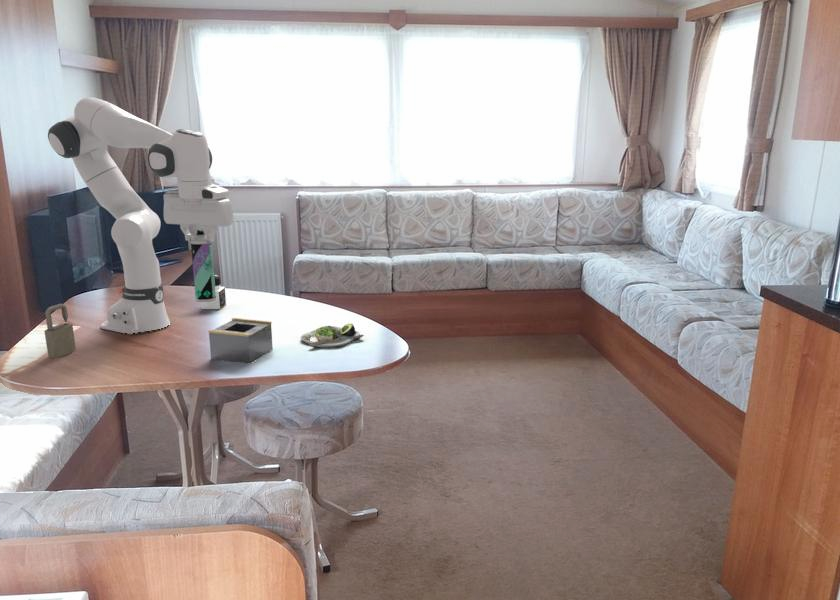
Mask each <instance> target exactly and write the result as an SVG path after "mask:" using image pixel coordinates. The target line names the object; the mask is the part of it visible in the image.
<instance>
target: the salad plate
mask: <svg viewBox="0 0 840 600" xmlns="http://www.w3.org/2000/svg"><path fill="white" fill-rule="evenodd" d="M315 335H316V336H315ZM313 336H314V337H316V339H317V341H312V340H311V341H310V338H311V337H312V338H314V337H313ZM364 336H365V335H364V334H360V331H356V327H355V326H354V324H353V323H346V324H345V325H343V326H342V327H340V326H333V325H326V326H325V325H324V326H320V327H318V328H316V329H314V330H312V331H309V332H306V333H303V334H302V335H301V336H300V340H301V341H302V342H303V343H305V344H306V345H308V346H310V347H316V346H317V348H338V347H337V346H339V347H343V346H345V345H348V344H350V343H349V342H351V343H353V342H355V341H357V340H359V339H360V338H362V337H364ZM312 338H311V339H312ZM354 340H355V341H354ZM352 341H353V342H352ZM347 343H348V344H347ZM342 345H343V346H342Z"/></svg>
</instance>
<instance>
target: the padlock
mask: <svg viewBox="0 0 840 600" xmlns="http://www.w3.org/2000/svg"><path fill="white" fill-rule="evenodd" d="M56 310H61V313H62V319H63V320H64V322H65V323H64V322H63V323H60V324H56V325H53V319H52V312H54V311H56ZM44 315H45V321H46V329H45V330H44V336H45V337H44V338H45V344H46V345H45V346H46V350H47V351H46V352H47V357H48V358H51V359H56V358H59V357H64V356H66V355H68V354H71V353H73V352H74V351H75V350H76V349H77V347H76V341H75V340H76V339H75V334H74V333H75V332H74V327H73V323H70V322H68V317H69V316H68V307H67V305H66V304H64V303H58V304H55V305H52V306H49V307H47V308H46V310H45V312H44Z"/></svg>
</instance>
